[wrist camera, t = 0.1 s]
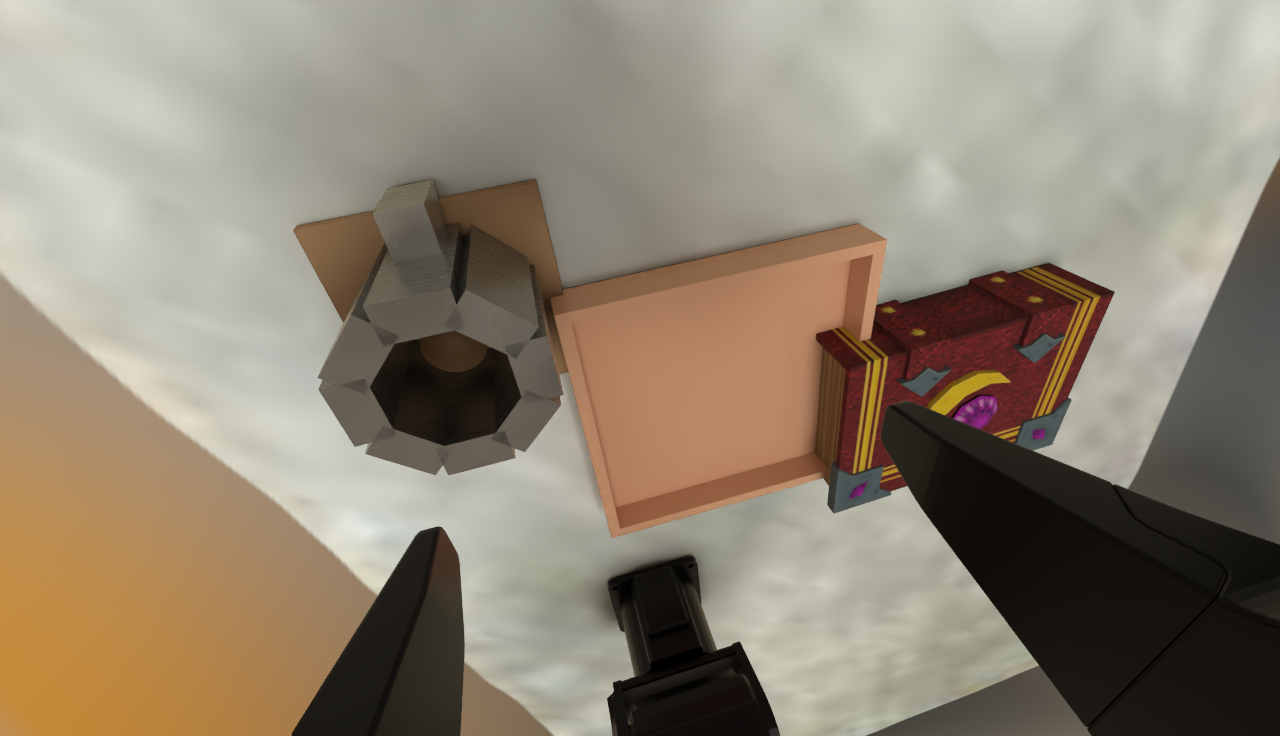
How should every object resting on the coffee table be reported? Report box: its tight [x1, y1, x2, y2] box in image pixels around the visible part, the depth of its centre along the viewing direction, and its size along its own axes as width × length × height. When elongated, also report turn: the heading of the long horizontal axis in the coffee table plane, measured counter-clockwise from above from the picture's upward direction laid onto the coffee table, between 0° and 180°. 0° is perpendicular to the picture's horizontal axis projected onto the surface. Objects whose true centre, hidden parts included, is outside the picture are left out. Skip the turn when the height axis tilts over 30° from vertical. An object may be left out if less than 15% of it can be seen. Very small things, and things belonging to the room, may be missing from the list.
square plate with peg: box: [293, 179, 569, 374], centre depth 21 cm, size 9×9×4 cm
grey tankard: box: [318, 180, 563, 475], centre depth 19 cm, size 9×7×6 cm
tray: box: [550, 224, 887, 538], centre depth 27 cm, size 15×15×2 cm
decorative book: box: [815, 263, 1114, 513], centre depth 30 cm, size 11×16×5 cm
